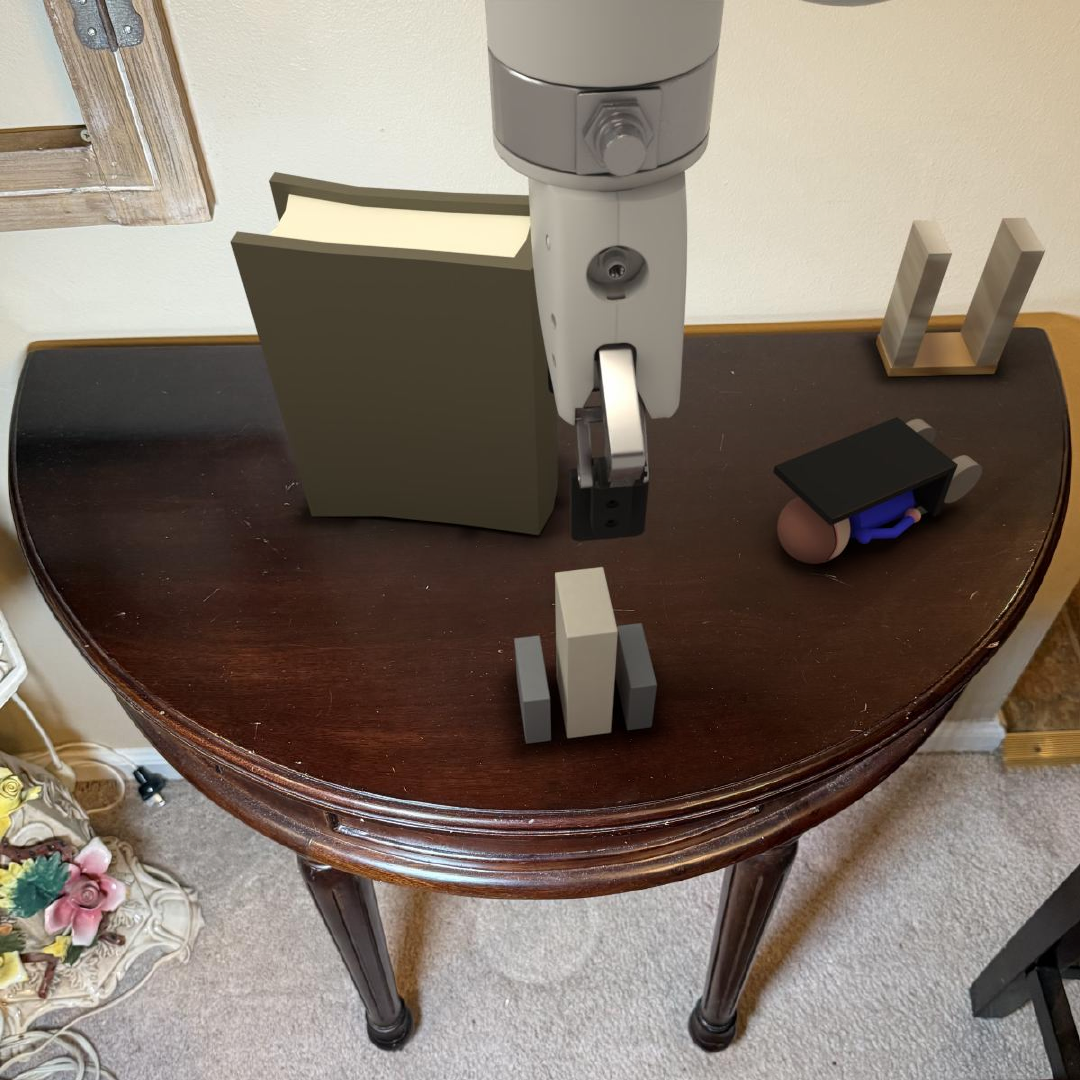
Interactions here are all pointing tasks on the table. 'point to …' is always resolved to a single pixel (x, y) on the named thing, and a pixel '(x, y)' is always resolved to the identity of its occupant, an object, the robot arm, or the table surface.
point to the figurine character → (867, 488)
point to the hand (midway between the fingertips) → (592, 456)
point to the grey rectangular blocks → (629, 672)
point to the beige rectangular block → (585, 651)
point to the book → (406, 352)
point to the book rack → (986, 316)
